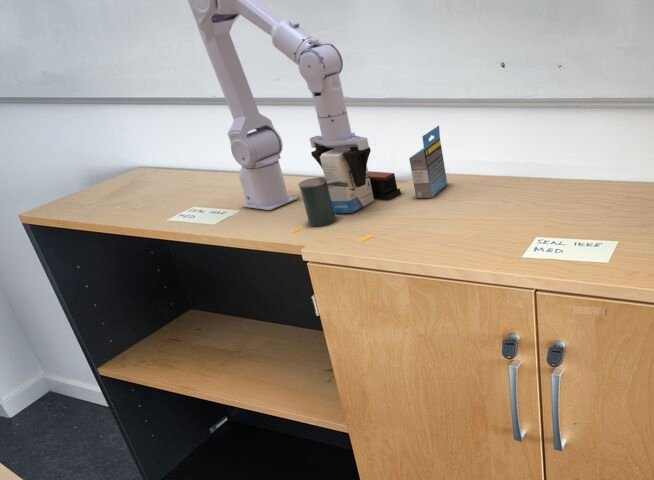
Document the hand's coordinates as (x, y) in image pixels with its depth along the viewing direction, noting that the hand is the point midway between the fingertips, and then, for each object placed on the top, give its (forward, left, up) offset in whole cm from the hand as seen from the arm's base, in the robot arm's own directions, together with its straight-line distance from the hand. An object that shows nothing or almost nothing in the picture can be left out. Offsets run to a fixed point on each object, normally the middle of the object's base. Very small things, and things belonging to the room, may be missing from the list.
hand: (347, 184), depth 137 cm
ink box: (0, +1, -5) cm, 5 cm away
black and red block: (-2, +8, -5) cm, 9 cm away
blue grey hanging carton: (+10, +13, -5) cm, 17 cm away
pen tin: (0, -8, -5) cm, 10 cm away
